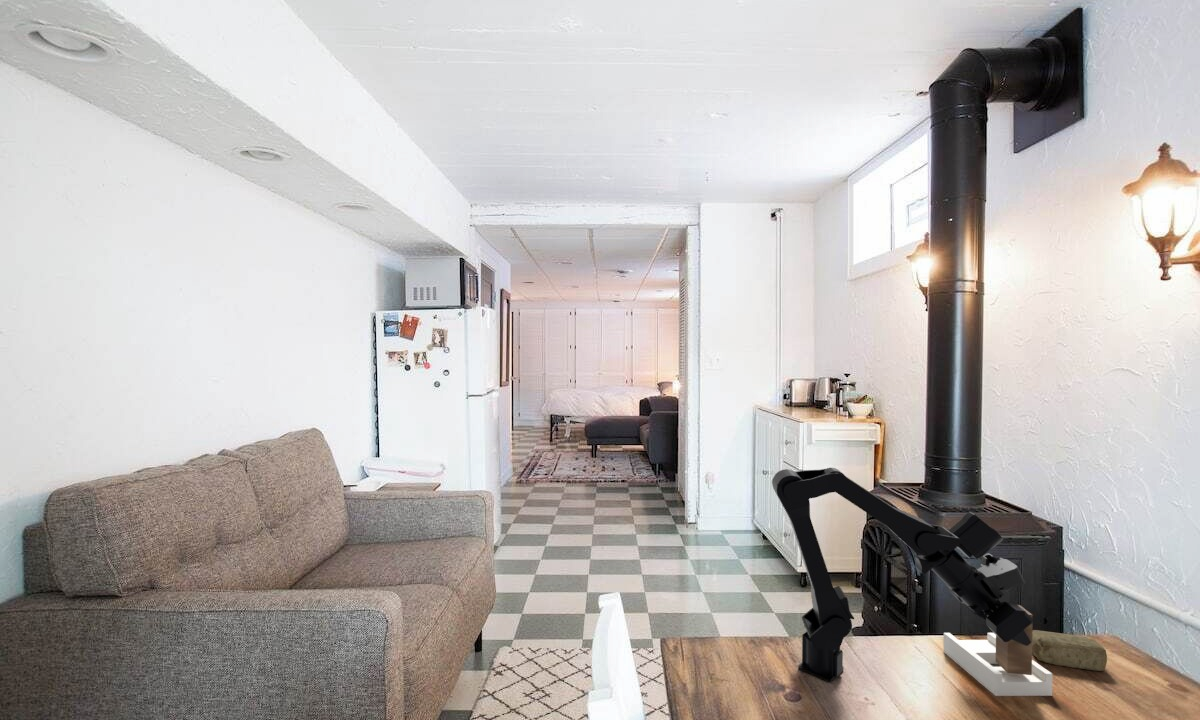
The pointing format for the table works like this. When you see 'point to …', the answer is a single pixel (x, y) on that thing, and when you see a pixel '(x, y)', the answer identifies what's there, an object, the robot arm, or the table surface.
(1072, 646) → the stone block
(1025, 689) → the walled channel
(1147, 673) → the table surface
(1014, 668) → the walnut block
